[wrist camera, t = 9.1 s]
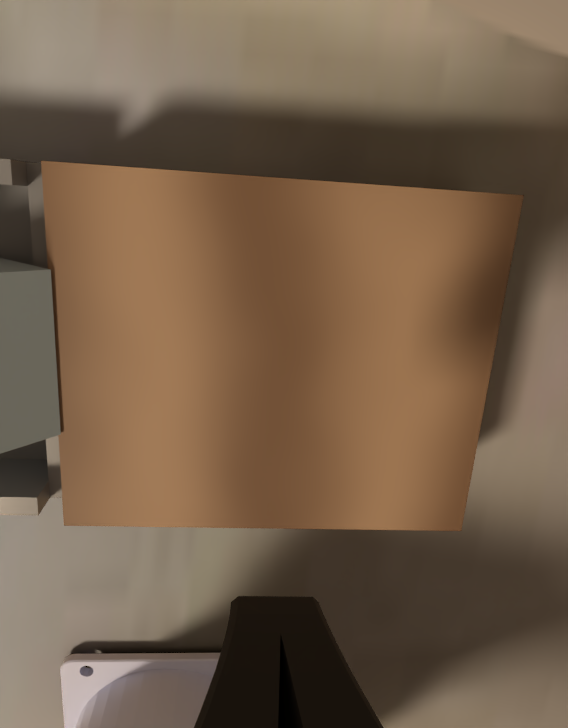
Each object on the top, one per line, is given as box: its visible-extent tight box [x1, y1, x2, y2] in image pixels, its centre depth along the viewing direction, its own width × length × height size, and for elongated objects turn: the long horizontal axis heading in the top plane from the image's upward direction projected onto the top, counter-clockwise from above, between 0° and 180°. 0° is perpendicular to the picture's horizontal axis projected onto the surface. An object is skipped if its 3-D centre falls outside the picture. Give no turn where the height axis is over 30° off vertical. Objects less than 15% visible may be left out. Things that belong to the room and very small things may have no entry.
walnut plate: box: [41, 161, 524, 531], centre depth 16 cm, size 12×10×4 cm
